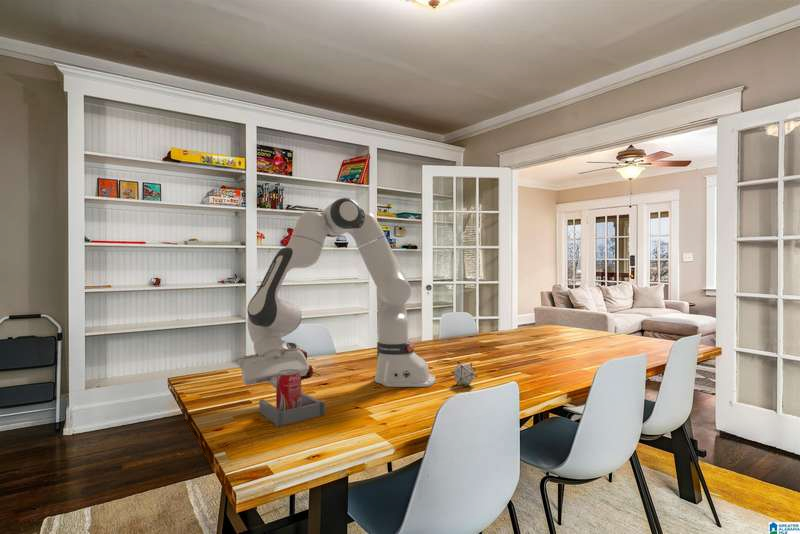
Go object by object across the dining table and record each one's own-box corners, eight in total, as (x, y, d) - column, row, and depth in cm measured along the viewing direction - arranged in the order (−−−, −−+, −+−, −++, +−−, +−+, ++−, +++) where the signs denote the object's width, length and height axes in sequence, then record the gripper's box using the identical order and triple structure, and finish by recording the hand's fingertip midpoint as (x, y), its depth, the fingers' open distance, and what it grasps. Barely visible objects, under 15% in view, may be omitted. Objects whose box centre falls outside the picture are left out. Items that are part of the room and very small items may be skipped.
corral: (257, 412, 127) (257, 400, 127) (303, 402, 136) (303, 391, 136) (276, 426, 116) (276, 413, 116) (325, 414, 125) (325, 402, 125)
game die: (468, 394, 155) (485, 372, 155) (462, 392, 147) (479, 368, 148) (449, 379, 159) (465, 357, 160) (442, 376, 152) (459, 353, 152)
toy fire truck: (304, 370, 175) (303, 345, 175) (314, 377, 165) (314, 350, 165) (287, 373, 172) (286, 347, 172) (296, 380, 161) (296, 352, 161)
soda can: (278, 409, 129) (277, 369, 129) (302, 407, 130) (302, 368, 130) (274, 417, 122) (274, 375, 122) (300, 416, 124) (300, 374, 123)
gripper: (239, 350, 129) (250, 391, 121) (303, 343, 142) (316, 379, 134) (234, 363, 133) (245, 403, 125) (297, 354, 145) (310, 390, 138)
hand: (282, 390), depth 130 cm, fingers closed
